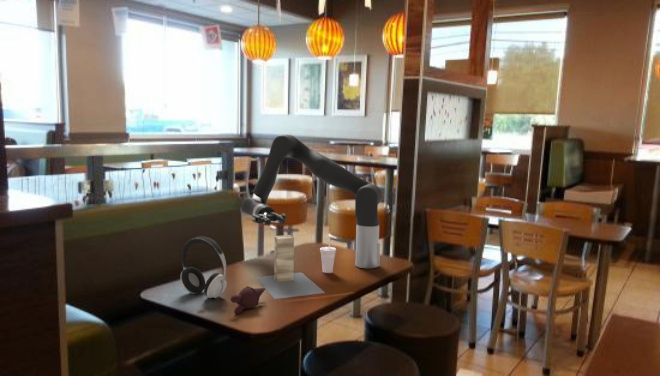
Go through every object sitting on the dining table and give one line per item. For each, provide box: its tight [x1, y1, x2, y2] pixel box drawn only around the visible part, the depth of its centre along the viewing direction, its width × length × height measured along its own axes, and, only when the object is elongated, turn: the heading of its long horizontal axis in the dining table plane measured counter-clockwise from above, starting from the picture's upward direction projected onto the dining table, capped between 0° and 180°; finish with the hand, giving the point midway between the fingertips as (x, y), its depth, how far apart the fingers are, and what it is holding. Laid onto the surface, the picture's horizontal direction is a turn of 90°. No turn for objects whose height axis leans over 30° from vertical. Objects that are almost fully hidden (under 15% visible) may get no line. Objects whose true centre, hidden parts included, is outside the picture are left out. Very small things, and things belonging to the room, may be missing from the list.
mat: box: [255, 272, 326, 300], centre depth 175 cm, size 24×18×1 cm
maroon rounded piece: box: [230, 285, 266, 315], centre depth 154 cm, size 7×7×15 cm
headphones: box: [180, 235, 228, 299], centre depth 162 cm, size 19×8×20 cm, turn 60°
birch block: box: [273, 234, 295, 282], centre depth 179 cm, size 4×6×16 cm
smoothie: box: [319, 237, 337, 274], centre depth 190 cm, size 6×6×14 cm
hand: (275, 221), depth 187 cm, fingers open, 5 cm apart
